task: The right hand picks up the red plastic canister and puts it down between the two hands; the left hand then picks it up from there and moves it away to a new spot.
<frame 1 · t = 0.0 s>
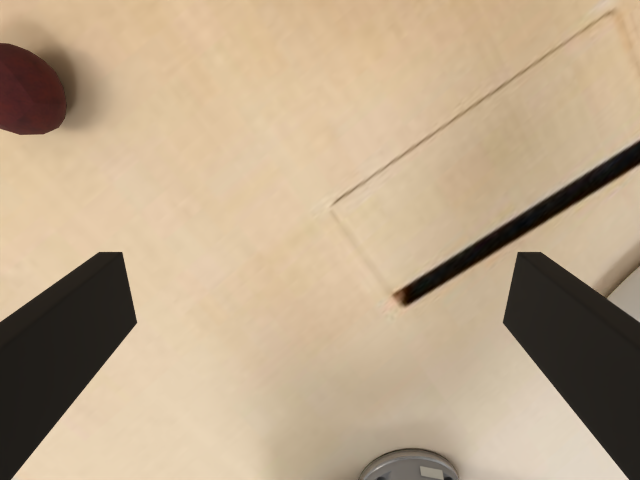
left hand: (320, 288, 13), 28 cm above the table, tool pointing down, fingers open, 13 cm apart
dark maroon ball: (45, 92, 36), on the table
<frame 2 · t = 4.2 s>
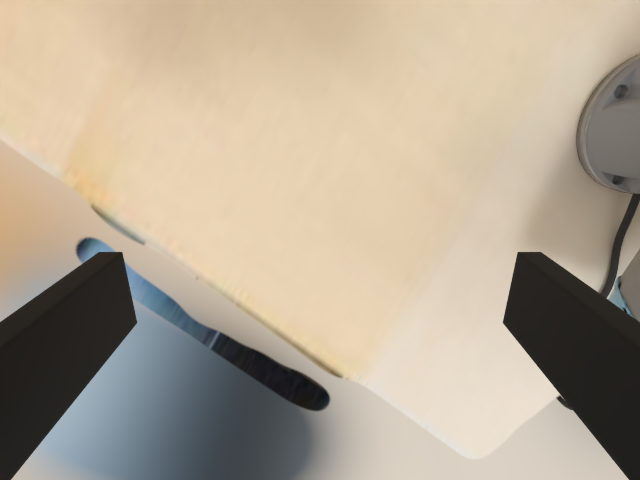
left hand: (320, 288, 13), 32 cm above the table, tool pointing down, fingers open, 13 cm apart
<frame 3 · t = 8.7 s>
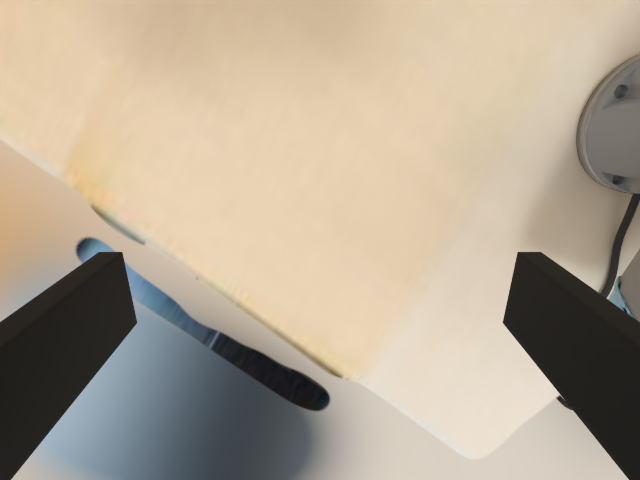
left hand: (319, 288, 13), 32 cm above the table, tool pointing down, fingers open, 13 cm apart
when the right hand's fingers open (4 cm above the table, at t = 13.1 s): canister stays where it is, on the table.
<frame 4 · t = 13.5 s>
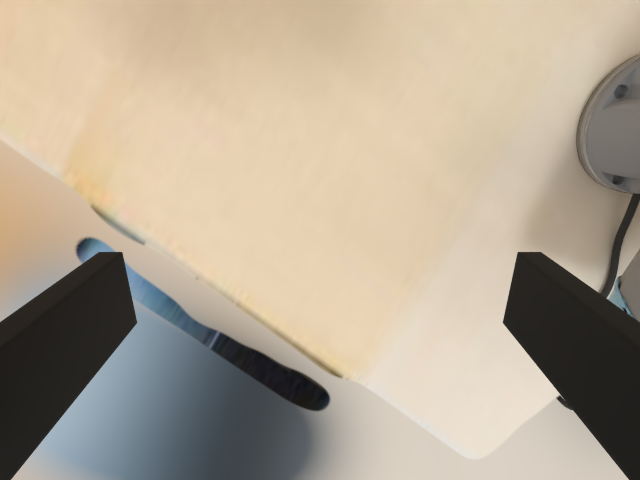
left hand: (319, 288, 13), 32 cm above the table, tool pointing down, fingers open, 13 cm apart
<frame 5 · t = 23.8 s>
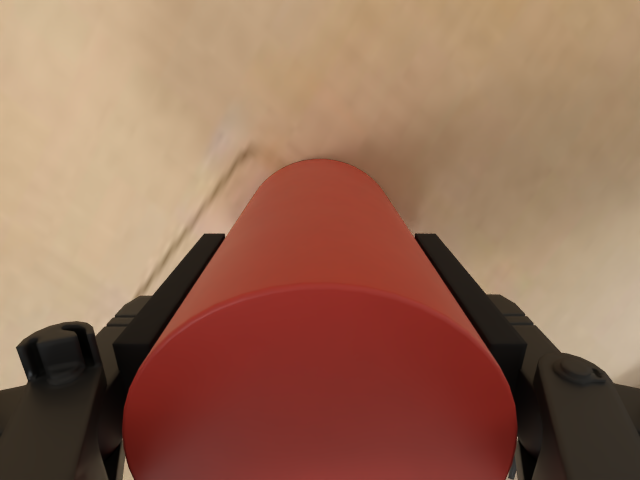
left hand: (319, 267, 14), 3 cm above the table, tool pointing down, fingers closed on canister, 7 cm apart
canister: (319, 234, 17), on the table, touching left hand
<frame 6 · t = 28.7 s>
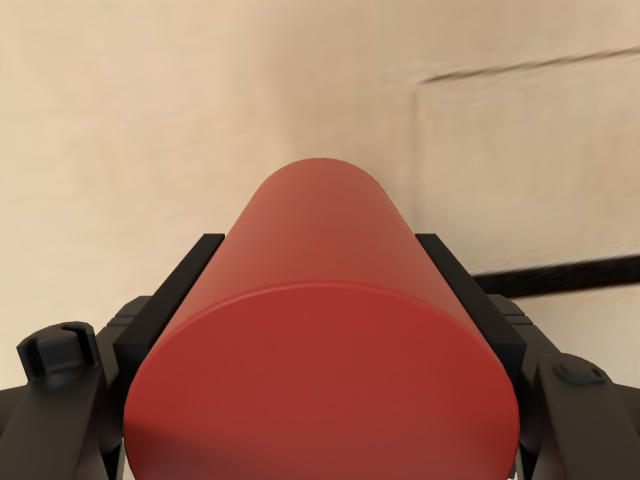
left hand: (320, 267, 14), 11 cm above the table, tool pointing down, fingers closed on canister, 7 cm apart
canister: (320, 233, 17), point 8 cm above the table, touching left hand
when the left hand's fingers open (4 cm above the table, at t = 33.7 s): canister drops 1 cm, on the table.
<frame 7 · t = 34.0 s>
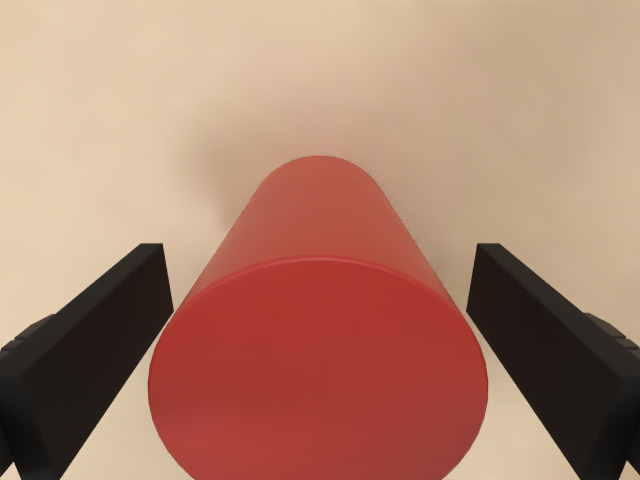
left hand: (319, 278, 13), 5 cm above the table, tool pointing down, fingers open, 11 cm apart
canister: (319, 227, 18), on the table
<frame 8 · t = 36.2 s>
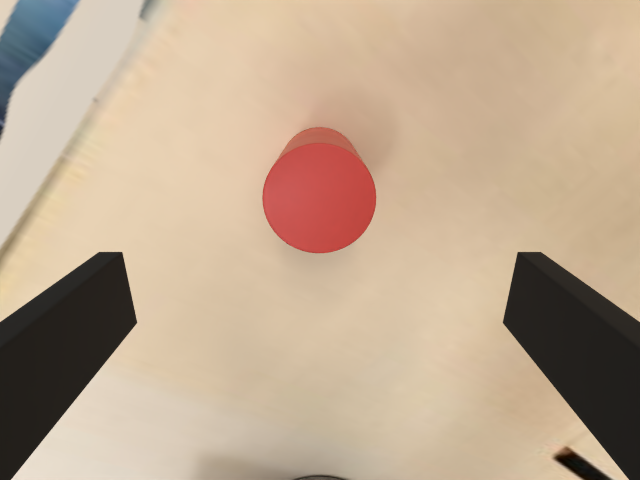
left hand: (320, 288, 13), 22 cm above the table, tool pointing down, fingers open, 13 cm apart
canister: (319, 167, 34), on the table
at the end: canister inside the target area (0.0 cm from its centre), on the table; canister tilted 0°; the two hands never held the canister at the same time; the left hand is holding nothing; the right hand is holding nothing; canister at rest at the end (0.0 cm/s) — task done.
